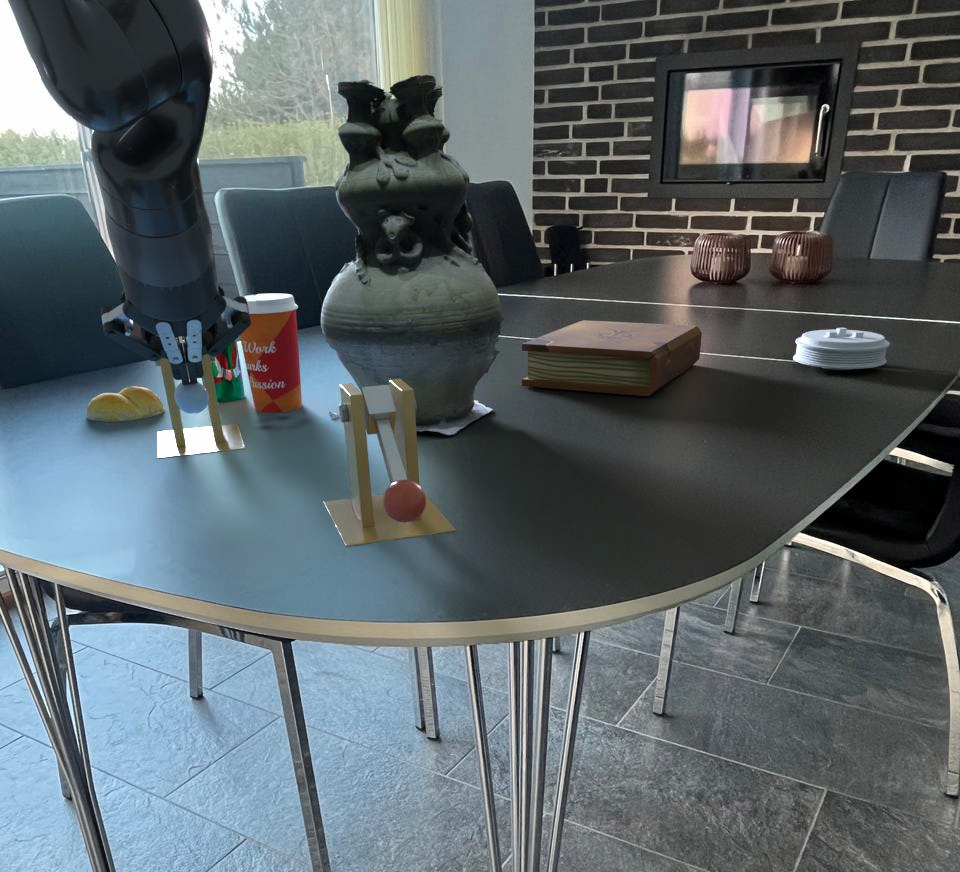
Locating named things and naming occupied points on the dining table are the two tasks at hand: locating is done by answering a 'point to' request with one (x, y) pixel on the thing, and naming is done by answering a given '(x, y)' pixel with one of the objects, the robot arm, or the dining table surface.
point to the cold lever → (191, 396)
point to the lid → (841, 349)
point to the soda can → (228, 375)
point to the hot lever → (391, 456)
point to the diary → (612, 356)
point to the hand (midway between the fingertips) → (189, 376)
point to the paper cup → (272, 353)
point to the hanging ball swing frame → (195, 438)
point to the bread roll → (125, 405)
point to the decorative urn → (410, 259)
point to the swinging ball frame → (364, 511)
